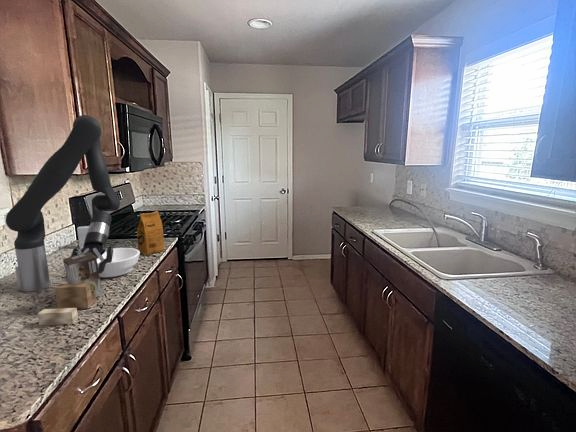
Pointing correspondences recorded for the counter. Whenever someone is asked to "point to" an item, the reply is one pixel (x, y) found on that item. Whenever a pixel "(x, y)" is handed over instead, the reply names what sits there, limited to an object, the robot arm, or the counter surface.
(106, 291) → the counter surface
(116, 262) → the bowl
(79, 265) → the coffee box
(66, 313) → the batten
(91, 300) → the block
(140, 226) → the coffee package
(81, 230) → the skincare box
